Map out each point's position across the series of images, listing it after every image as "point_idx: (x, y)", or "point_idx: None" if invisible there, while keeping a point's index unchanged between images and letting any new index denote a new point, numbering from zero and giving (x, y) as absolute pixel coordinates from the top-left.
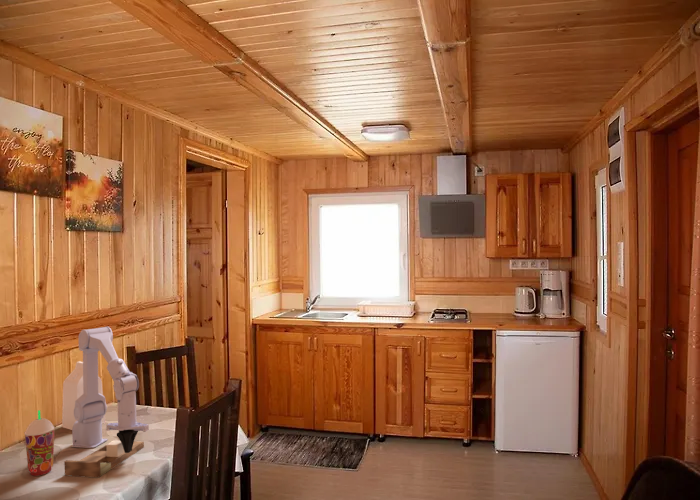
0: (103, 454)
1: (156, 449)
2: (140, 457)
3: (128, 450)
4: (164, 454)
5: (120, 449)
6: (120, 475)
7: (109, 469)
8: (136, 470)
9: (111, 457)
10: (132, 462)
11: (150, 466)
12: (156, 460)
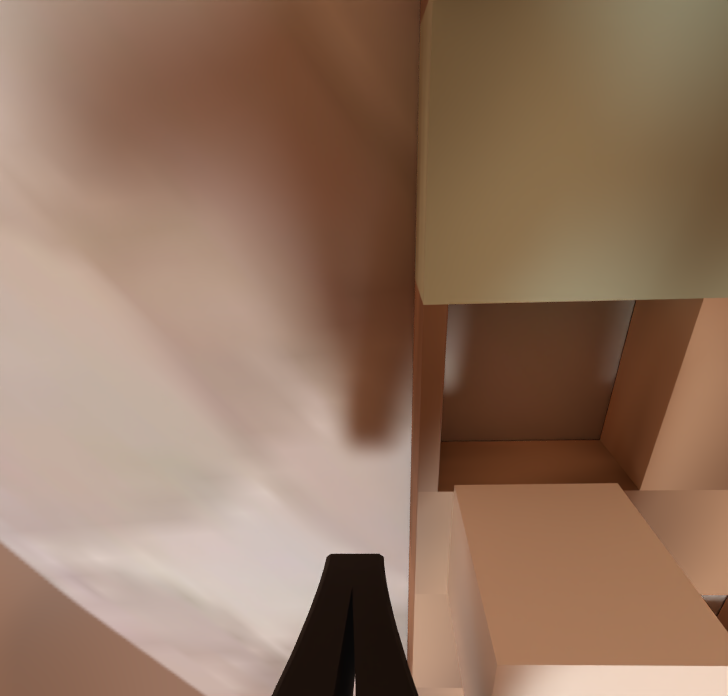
0: (695, 526)
1: (271, 669)
2: (291, 554)
3: (320, 586)
4: (123, 611)
5: (464, 601)
6: (130, 108)
7: (415, 250)
8: (60, 291)
9: (544, 480)
10: (285, 462)
11: (4, 402)
12: (80, 518)
